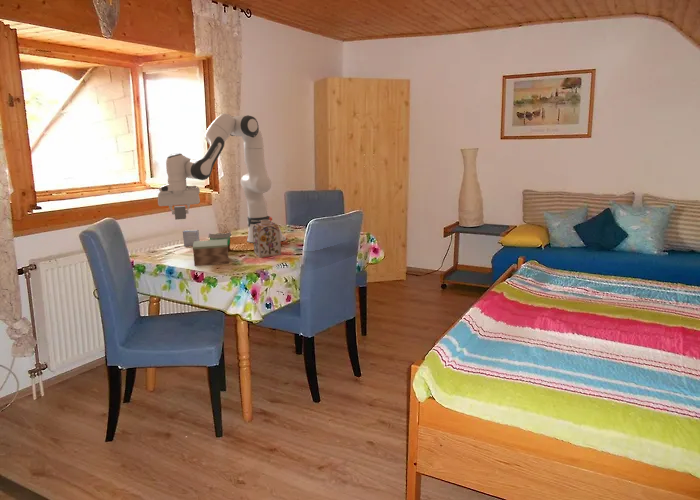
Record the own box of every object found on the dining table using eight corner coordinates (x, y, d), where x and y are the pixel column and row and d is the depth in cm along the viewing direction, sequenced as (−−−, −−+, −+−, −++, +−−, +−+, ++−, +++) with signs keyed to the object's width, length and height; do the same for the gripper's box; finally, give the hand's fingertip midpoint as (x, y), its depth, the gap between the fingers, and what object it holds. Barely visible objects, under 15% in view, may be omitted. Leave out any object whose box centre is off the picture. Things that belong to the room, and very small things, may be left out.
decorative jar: (253, 253, 286) (251, 219, 281) (275, 250, 290) (273, 217, 286) (259, 257, 275) (257, 222, 271) (281, 255, 279) (279, 220, 275)
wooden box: (228, 257, 277) (227, 242, 275) (228, 263, 266) (227, 247, 264) (195, 260, 274) (194, 244, 272) (194, 265, 263) (193, 249, 261)
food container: (212, 253, 286) (210, 235, 284) (209, 251, 292) (208, 233, 290) (235, 250, 292) (233, 232, 290) (232, 248, 297) (230, 230, 295)
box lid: (227, 241, 275) (227, 239, 275) (227, 246, 264) (227, 244, 264) (193, 243, 272) (193, 241, 272) (192, 249, 261) (192, 247, 260)
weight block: (186, 217, 279) (185, 205, 277) (185, 218, 274) (184, 207, 273) (176, 218, 278) (174, 206, 276) (175, 219, 273) (174, 207, 272)
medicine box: (200, 244, 311) (198, 229, 309) (197, 246, 307) (195, 231, 305) (186, 244, 312) (185, 229, 310) (183, 246, 308) (182, 231, 306)
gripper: (199, 184, 277) (201, 211, 280) (157, 187, 273) (160, 214, 276) (198, 186, 271) (201, 213, 274) (155, 188, 267) (158, 216, 270)
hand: (180, 213), depth 275 cm, fingers closed on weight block, 5 cm apart
